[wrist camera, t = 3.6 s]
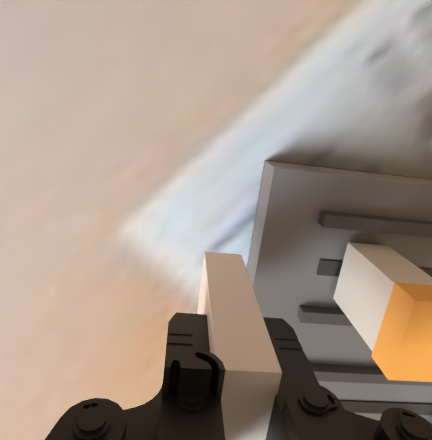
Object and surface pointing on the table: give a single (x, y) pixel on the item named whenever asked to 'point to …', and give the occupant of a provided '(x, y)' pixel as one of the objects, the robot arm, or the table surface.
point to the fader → (389, 309)
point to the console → (336, 269)
